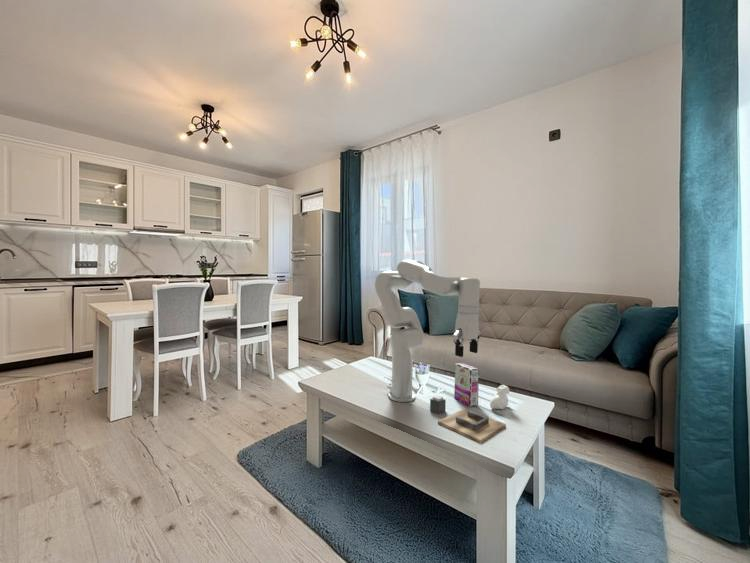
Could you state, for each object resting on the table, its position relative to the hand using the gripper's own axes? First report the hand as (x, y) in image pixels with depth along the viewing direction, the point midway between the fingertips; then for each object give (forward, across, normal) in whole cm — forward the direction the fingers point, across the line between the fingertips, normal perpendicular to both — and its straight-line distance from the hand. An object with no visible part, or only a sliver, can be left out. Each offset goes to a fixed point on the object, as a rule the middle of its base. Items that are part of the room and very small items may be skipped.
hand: (466, 354), depth 120 cm
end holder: (+27, -1, +3) cm, 27 cm away
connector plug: (+27, 0, -13) cm, 30 cm away
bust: (+27, -25, +2) cm, 37 cm away
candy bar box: (+27, -18, -11) cm, 35 cm away
